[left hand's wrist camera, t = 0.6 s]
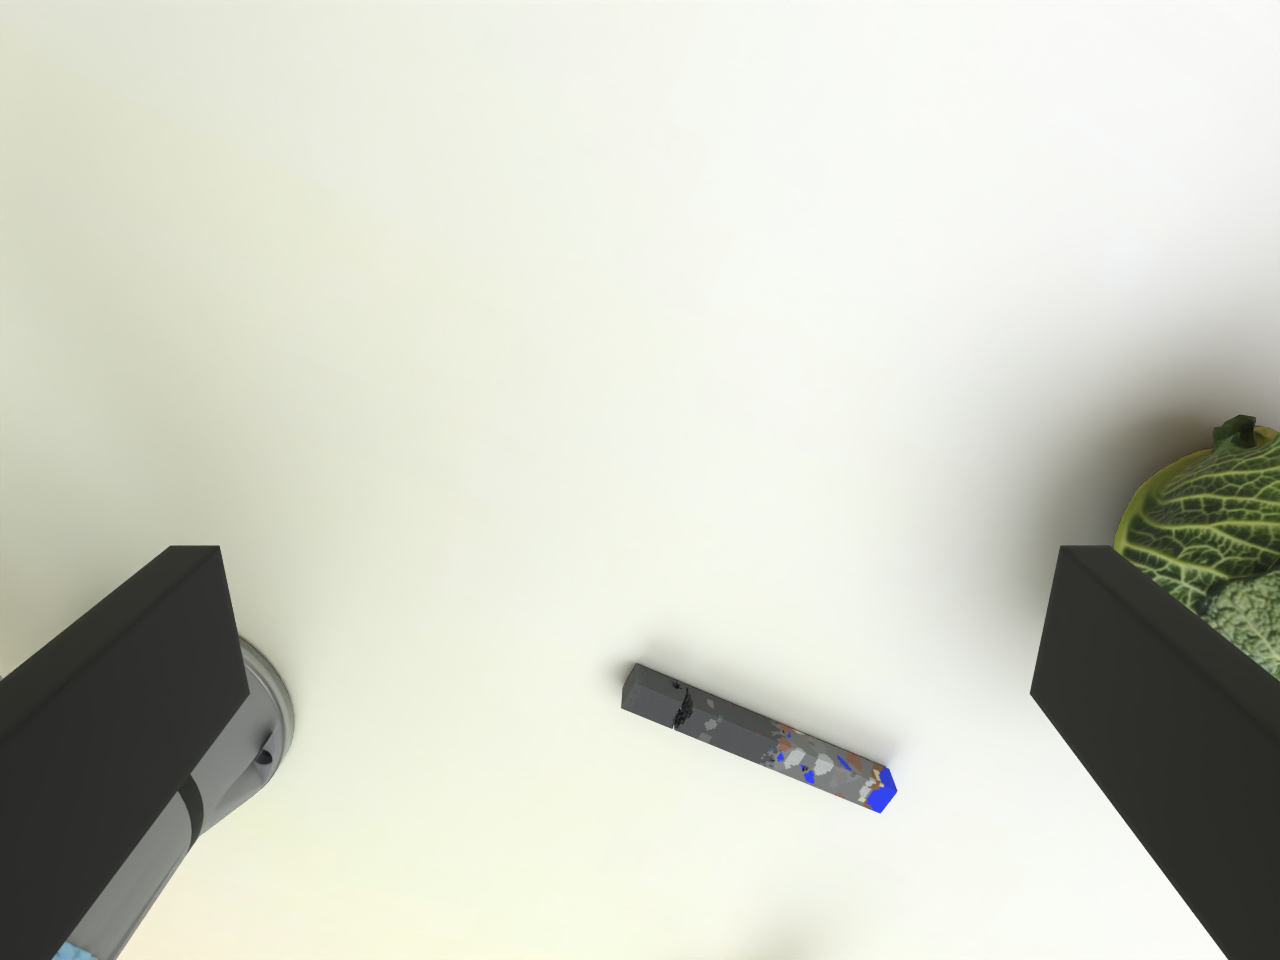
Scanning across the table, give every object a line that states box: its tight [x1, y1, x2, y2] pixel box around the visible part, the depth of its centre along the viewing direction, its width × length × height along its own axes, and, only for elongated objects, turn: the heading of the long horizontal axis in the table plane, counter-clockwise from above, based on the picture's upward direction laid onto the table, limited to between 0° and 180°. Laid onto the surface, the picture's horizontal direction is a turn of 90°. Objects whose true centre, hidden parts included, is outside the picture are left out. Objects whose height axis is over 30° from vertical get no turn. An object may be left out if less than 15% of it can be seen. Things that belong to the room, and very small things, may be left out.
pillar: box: [621, 664, 897, 813], centre depth 54 cm, size 2×2×20 cm
